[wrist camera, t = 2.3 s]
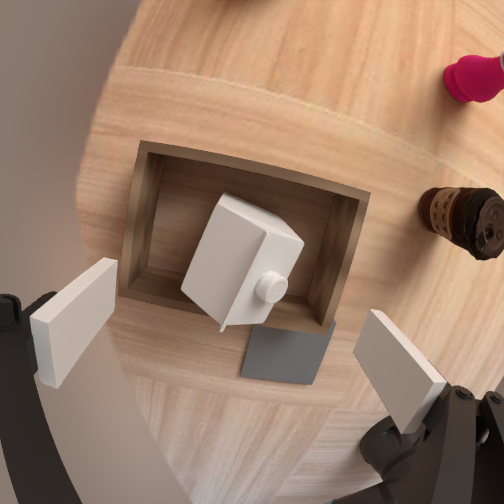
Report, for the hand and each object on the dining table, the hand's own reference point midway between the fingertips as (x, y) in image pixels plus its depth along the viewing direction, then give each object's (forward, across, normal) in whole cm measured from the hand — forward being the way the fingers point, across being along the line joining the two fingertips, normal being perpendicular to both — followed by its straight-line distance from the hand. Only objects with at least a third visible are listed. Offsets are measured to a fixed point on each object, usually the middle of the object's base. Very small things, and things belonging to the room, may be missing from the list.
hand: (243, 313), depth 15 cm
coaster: (+23, -10, +15) cm, 30 cm away
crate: (+23, 0, 0) cm, 23 cm away
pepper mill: (+24, -27, -30) cm, 47 cm away
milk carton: (+23, 0, 0) cm, 23 cm away
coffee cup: (+23, -26, -9) cm, 36 cm away
